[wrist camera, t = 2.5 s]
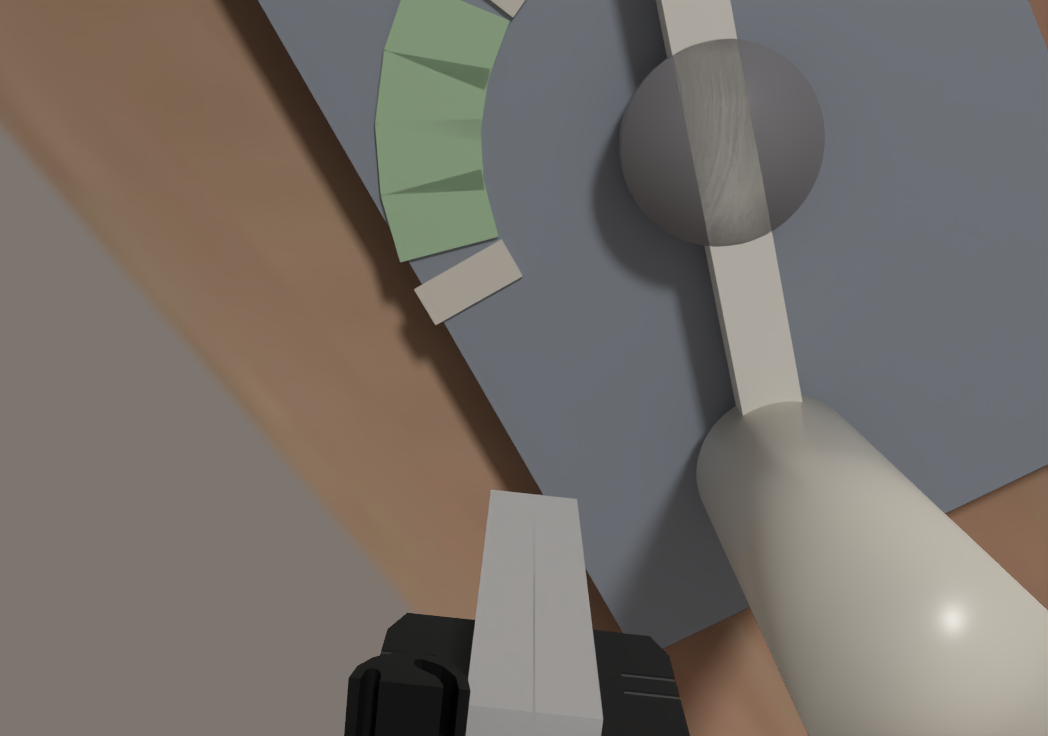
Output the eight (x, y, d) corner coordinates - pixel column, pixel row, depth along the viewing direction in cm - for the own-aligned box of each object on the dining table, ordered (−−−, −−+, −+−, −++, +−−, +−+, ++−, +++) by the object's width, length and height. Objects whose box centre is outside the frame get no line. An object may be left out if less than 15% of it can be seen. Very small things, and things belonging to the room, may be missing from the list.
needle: (530, -252, 20) (531, -604, 10) (741, -310, 20) (948, -729, 10) (705, 563, 24) (821, 854, 15) (879, 524, 24) (1114, 795, 14)
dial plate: (184, -127, 22) (164, -141, 21) (794, -510, 20) (812, -552, 19) (627, 640, 27) (631, 666, 26) (1155, 385, 25) (1188, 399, 24)
